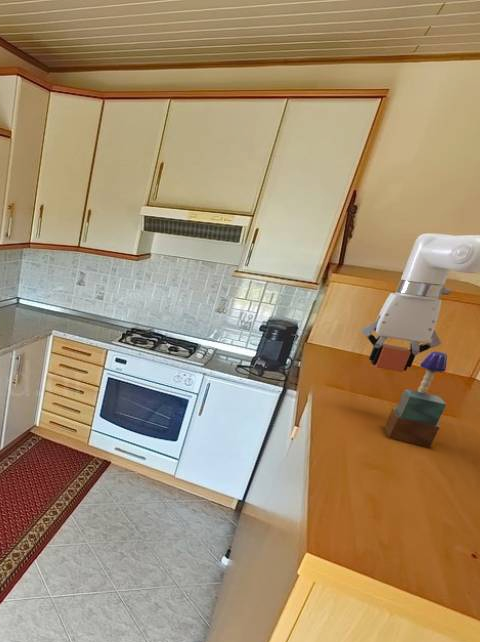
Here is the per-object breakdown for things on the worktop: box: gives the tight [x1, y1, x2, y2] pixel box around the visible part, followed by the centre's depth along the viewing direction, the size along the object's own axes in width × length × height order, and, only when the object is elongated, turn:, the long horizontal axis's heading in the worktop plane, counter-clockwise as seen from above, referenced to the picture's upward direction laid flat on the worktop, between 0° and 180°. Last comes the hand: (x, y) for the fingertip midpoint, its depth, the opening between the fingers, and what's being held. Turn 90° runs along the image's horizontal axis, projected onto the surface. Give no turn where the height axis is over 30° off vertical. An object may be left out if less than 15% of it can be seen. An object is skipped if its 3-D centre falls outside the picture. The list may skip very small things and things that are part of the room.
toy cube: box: [374, 343, 411, 373], centre depth 116 cm, size 5×5×5 cm
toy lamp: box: [417, 350, 448, 394], centre depth 120 cm, size 5×5×17 cm
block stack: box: [383, 388, 447, 449], centre depth 107 cm, size 7×7×10 cm
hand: (388, 365), depth 117 cm, fingers closed on toy cube, 5 cm apart
